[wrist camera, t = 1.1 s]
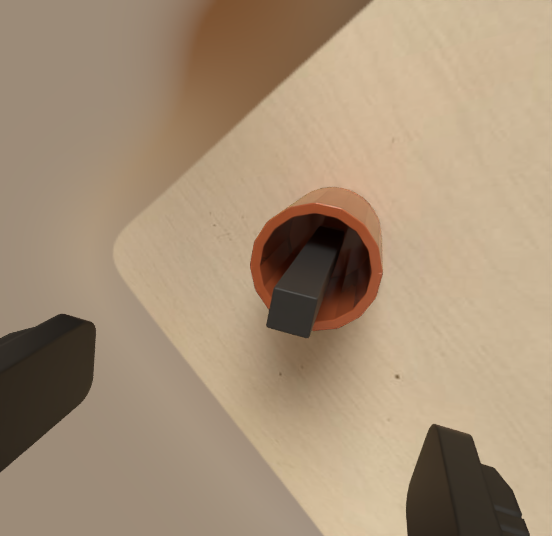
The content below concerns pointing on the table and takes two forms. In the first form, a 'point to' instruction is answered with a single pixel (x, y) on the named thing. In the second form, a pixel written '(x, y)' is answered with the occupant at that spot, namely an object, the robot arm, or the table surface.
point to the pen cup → (351, 262)
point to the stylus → (305, 283)
